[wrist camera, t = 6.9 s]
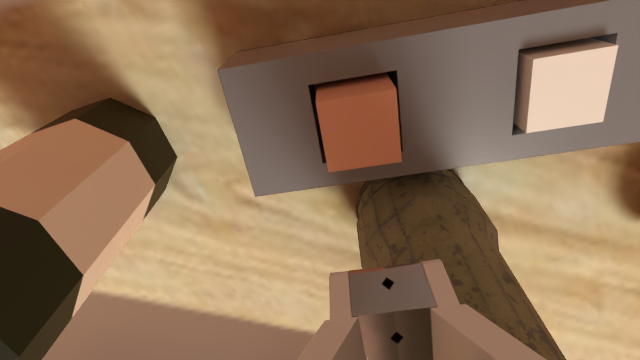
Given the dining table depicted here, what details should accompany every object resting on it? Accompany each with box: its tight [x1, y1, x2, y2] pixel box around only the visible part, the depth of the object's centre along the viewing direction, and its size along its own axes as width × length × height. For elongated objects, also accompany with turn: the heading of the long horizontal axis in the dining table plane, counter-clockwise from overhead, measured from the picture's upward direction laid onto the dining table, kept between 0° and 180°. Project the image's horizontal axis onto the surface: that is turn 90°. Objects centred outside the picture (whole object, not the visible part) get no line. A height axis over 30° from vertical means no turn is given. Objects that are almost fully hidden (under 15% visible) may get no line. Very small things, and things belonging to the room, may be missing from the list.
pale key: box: [513, 38, 618, 133], centre depth 21 cm, size 4×4×4 cm
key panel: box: [217, 0, 640, 197], centre depth 23 cm, size 25×8×5 cm, turn 100°
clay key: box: [316, 72, 402, 173], centre depth 21 cm, size 4×4×4 cm
